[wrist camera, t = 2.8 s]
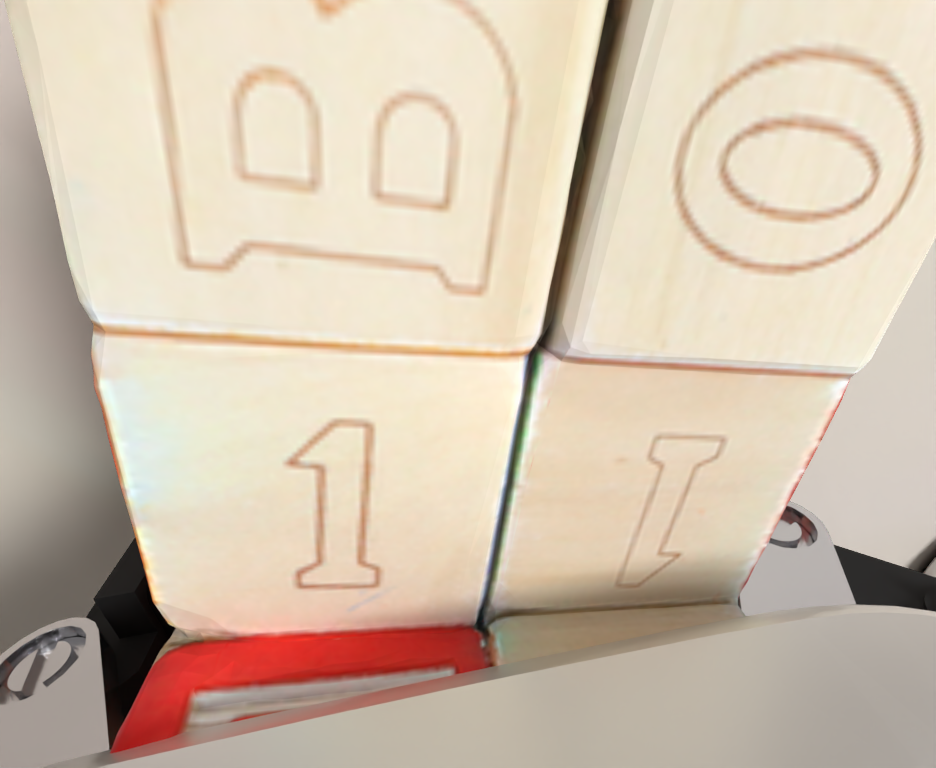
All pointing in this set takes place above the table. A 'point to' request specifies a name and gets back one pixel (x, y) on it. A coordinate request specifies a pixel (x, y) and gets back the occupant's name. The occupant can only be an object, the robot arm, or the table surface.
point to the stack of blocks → (467, 310)
